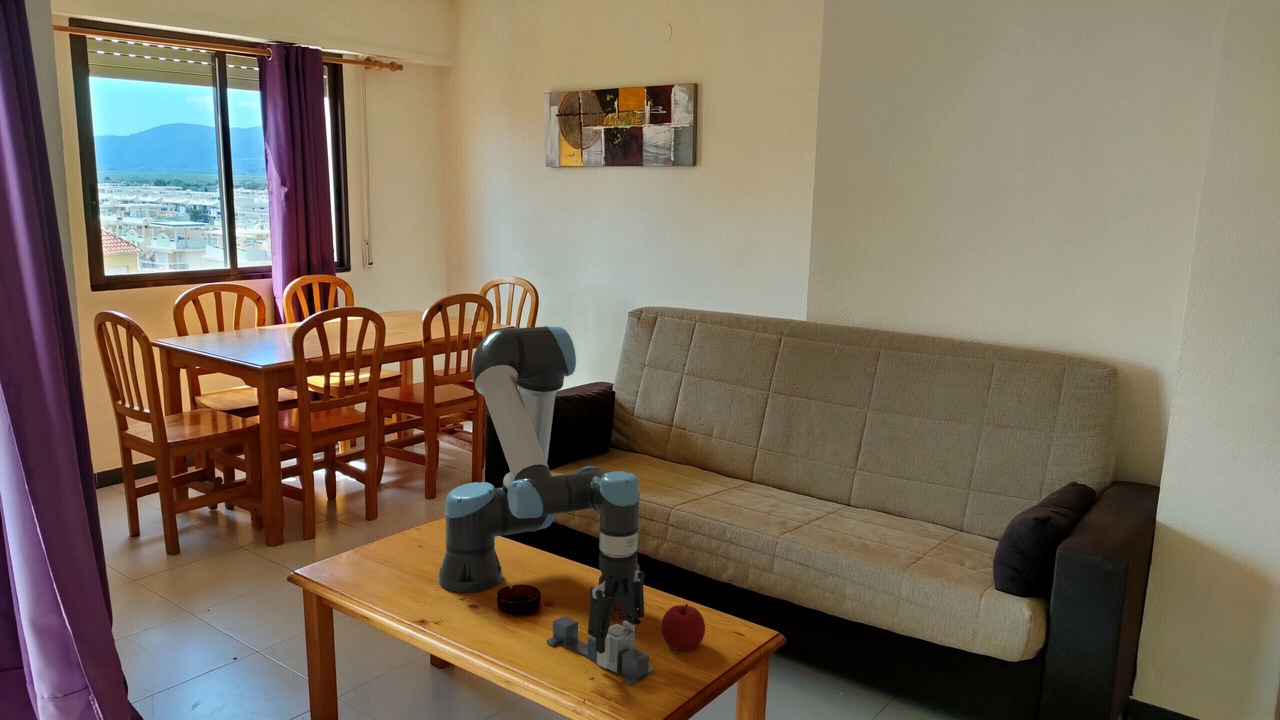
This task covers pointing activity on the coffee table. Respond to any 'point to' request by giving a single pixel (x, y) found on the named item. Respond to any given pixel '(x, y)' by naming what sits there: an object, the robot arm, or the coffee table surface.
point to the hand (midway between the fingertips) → (615, 659)
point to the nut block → (619, 645)
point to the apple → (683, 627)
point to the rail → (567, 636)
